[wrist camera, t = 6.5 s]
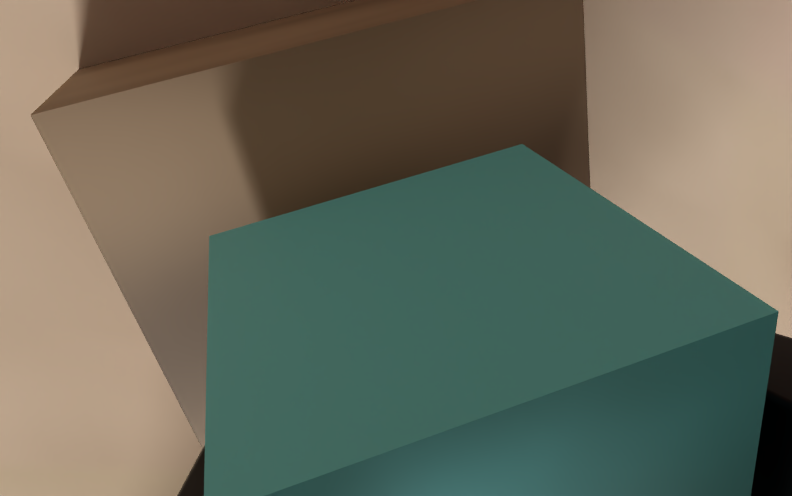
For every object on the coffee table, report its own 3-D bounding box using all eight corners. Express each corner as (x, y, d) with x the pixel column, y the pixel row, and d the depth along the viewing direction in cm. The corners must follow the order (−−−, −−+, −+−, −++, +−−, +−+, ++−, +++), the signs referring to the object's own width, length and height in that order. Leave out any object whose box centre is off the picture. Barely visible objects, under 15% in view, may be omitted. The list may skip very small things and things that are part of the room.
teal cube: (544, 378, 12) (730, 625, 8) (301, 465, 11) (354, 789, 7) (522, 143, 9) (777, 311, 5) (209, 236, 9) (203, 517, 4)
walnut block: (523, 290, 18) (597, 372, 14) (227, 388, 17) (231, 503, 13) (488, -35, 13) (582, -27, 10) (81, 66, 12) (30, 114, 9)
